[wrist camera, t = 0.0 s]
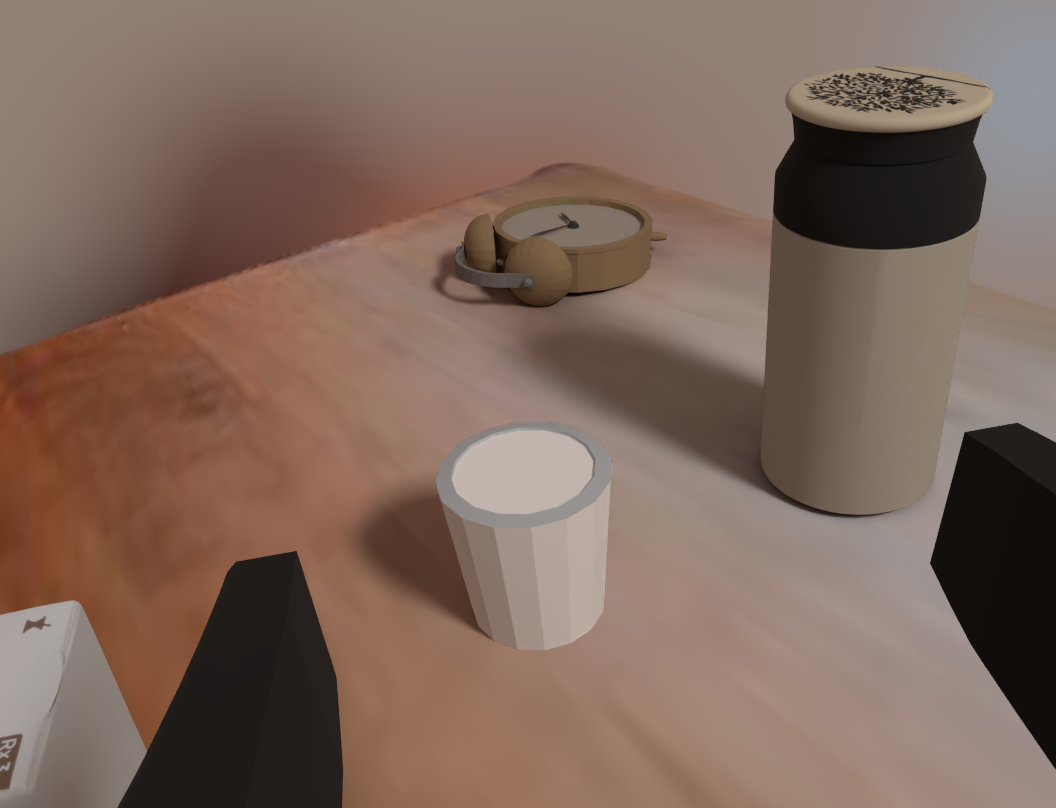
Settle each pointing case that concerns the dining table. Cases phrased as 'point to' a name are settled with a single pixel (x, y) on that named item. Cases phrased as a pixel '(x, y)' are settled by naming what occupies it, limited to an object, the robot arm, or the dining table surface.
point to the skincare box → (61, 714)
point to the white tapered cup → (530, 530)
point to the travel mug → (869, 282)
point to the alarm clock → (558, 247)
